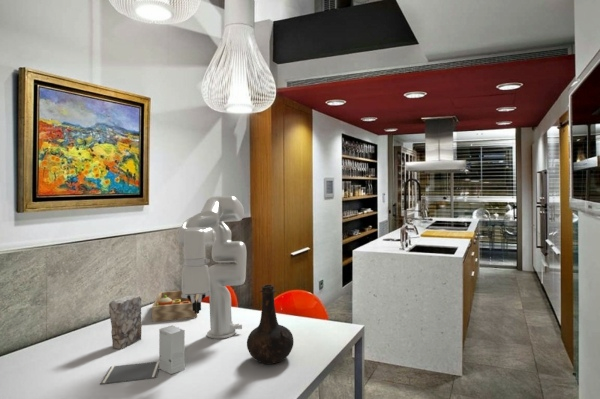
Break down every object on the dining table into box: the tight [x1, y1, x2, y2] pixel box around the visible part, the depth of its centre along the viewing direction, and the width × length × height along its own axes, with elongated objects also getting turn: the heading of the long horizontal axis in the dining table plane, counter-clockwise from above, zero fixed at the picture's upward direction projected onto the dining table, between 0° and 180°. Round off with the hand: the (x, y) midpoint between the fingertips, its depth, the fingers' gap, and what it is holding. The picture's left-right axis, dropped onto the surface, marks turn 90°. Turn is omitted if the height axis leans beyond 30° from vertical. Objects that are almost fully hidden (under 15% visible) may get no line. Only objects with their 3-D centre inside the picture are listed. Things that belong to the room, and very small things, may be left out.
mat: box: [100, 360, 160, 385], centre depth 148 cm, size 18×14×1 cm
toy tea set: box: [156, 295, 196, 306], centre depth 227 cm, size 26×16×10 cm, turn 171°
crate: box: [151, 290, 199, 323], centre depth 227 cm, size 22×32×8 cm
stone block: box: [108, 294, 143, 350], centre depth 178 cm, size 13×7×20 cm, turn 165°
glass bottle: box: [246, 284, 295, 365], centre depth 156 cm, size 18×18×28 cm
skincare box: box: [158, 325, 186, 375], centre depth 150 cm, size 8×6×15 cm
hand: (196, 312), depth 151 cm, fingers closed
